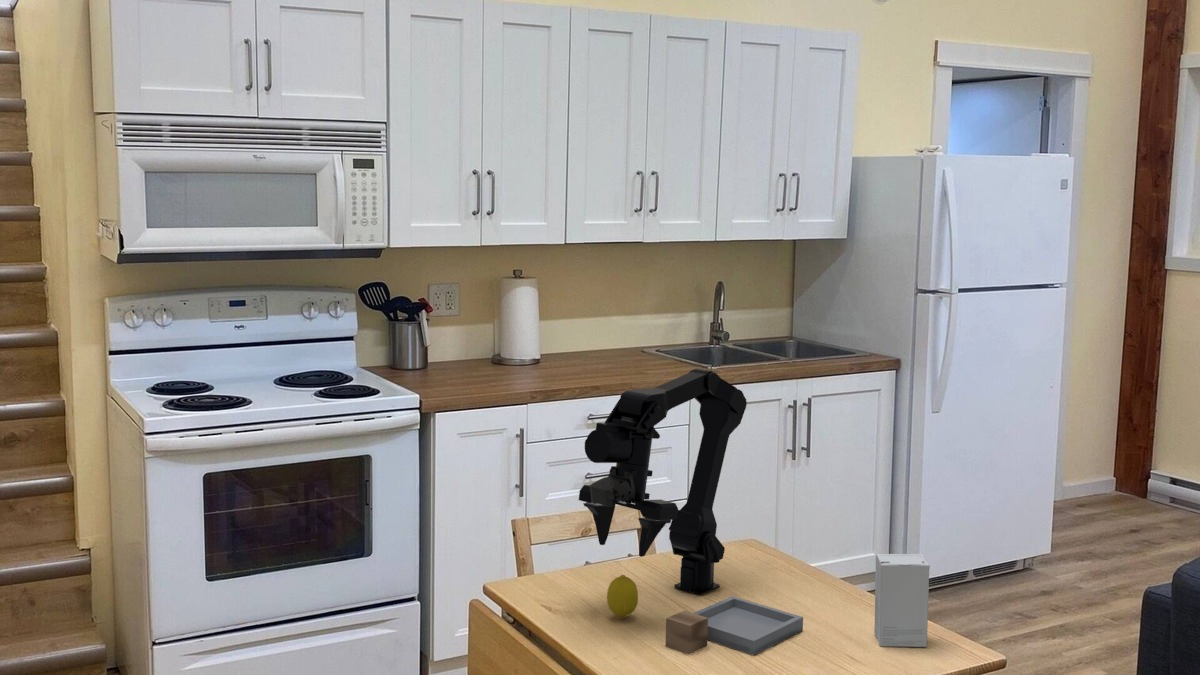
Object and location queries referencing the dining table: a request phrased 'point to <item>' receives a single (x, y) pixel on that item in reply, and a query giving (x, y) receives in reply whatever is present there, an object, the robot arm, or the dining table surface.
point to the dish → (749, 625)
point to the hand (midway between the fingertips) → (621, 550)
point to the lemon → (622, 596)
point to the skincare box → (901, 600)
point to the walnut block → (686, 632)
